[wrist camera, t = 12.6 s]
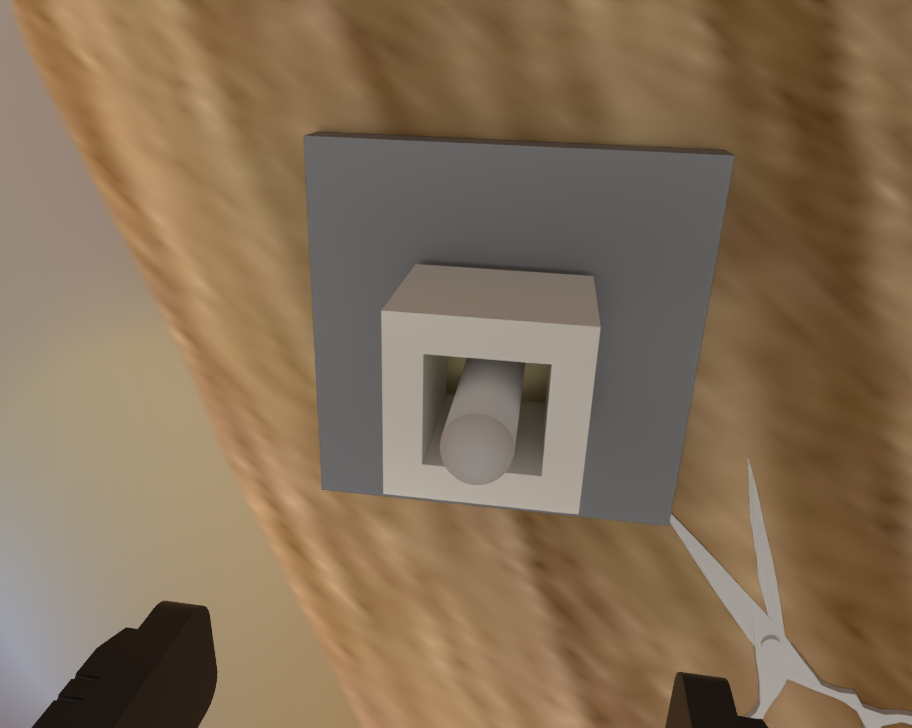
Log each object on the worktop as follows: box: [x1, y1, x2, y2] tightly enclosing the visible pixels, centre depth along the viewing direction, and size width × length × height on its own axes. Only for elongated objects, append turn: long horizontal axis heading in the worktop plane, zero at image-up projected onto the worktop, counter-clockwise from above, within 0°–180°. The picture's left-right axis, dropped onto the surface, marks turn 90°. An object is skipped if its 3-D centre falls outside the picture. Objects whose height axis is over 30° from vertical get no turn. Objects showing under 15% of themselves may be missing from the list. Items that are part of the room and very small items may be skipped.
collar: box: [381, 264, 601, 515], centre depth 23 cm, size 6×6×5 cm
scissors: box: [670, 459, 912, 728], centre depth 31 cm, size 11×1×20 cm
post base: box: [304, 132, 735, 526], centre depth 23 cm, size 14×14×10 cm
